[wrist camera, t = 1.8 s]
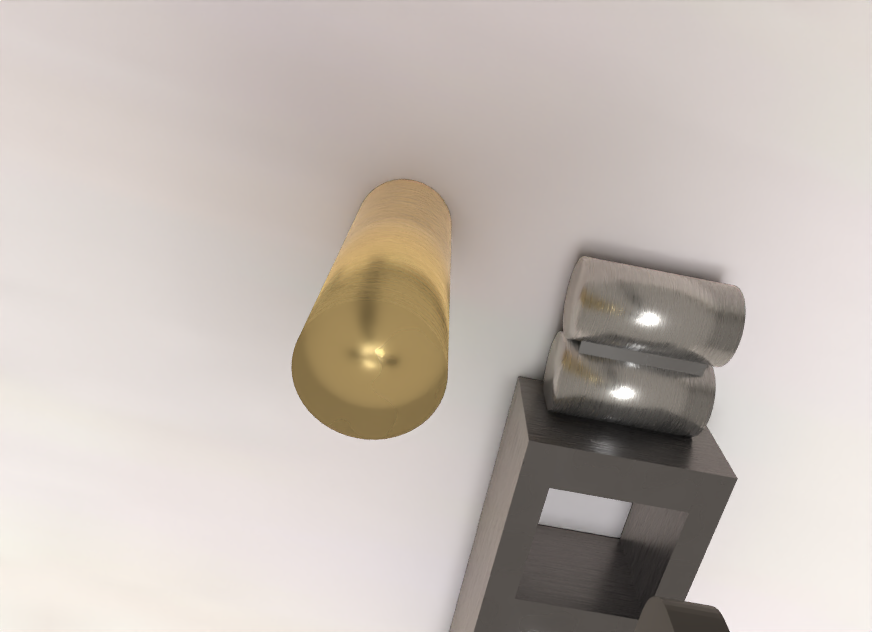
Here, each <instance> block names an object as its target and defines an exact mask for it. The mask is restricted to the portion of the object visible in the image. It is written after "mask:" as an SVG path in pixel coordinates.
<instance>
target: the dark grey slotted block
mask: <svg viewBox="0 0 872 632" xmlns="http://www.w3.org/2000/svg"><path fill="white" fill-rule="evenodd" d="M744 323H745V301H744V297H743V294H742V292H741V290H740V289H739V288H738V287H737V286H734V285H729V284H724V283H719V282H714V281H709V280H704V279H699V278H694V277H688V276H683V275H678V274H673V273H668V272H663V271H658V270H653V269H648V268H642V267H637V266H632V265H627V264H622V263H617V262H612V261H607V260H602V259H597V258H591V257H586V256H582V257H581V258H580V259H579V260H578V262H577V264H576V265H575V268H574V270H573V273H572V275H571V278H570V282H569V285H568V289H567V293H566V298H565V304H564V312H563V331H560V332H558V333H557V335H556V336H555V338H554V340H553V343H552V345H551V348H550V352H549V355H548V359H547V363H546V368H545V375H544V381H539V380H533V379H528V378H523V377H518V380H517V384H516V388H515V391H514V395H513V399H512V402H511V406H510V410H509V414H508V417H507V421H506V425H505V428H504V432H503V436H502V439H501V443H500V447H499V450H498V454H497V458H496V461H495V465H494V469H493V473H492V476H491V480H490V484H489V487H488V491H487V495H486V498H485V502H484V506H483V509H482V513H481V517H480V520H479V524H478V528H477V531H476V535H475V539H474V543H473V546H472V550H471V554H470V557H469V561H468V565H467V568H466V572H465V576H464V579H463V583H462V587H461V590H460V594H459V598H458V602H457V605H456V609H455V613H454V616H453V620H452V624H451V627H450V631H449V632H634V630H635V628H636V625H637V623H638V620H639V618H640V615H641V613H642V610H643V608H644V606H645V604H646V602H647V601H648V600H649V599H650V598H651V597H653V596H657V597H663V598H669V599H674V600H680V601H685V598H686V596H687V594H688V592H689V589H690V587H691V585H692V582H693V580H694V578H695V575H696V573H697V571H698V568H699V566H700V564H701V562H702V559H703V557H704V555H705V552H706V550H707V548H708V545H709V543H710V541H711V539H712V536H713V534H714V532H715V529H716V527H717V525H718V522H719V520H720V518H721V515H722V513H723V511H724V509H725V506H726V504H727V502H728V499H729V497H730V495H731V492H732V490H733V488H734V486H735V483H736V481H737V477H736V475H735V473H734V472H733V470H732V468H731V467H730V465H729V463H728V462H727V460H726V458H725V456H724V455H723V453H722V451H721V450H720V448H719V446H718V445H717V443H716V441H715V439H714V438H713V436H712V434H711V433H710V431H709V429H708V428H707V426H706V424H707V422H708V420H709V418H710V415H711V412H712V409H713V404H714V399H715V374H714V370H713V367H712V366H714V367H722V366H724V365H725V364H726V363H727V362H728V361H729V360H730V359H731V358H732V357H733V355H734V353H735V352H736V350H737V348H738V345H739V343H740V340H741V337H742V333H743V329H744ZM549 488H554V489H559V490H565V491H570V492H576V493H582V494H587V495H593V496H598V497H604V498H610V499H615V500H621V501H626V502H632V503H633V505H632V507H631V510H630V513H629V516H628V518H627V521H626V524H625V526H624V529H623V532H622V534H621V537H620V539H616V538H610V537H605V536H599V535H593V534H588V533H582V532H576V531H571V530H565V529H559V528H554V527H548V526H542V525H538V522H539V519H540V515H541V512H542V509H543V506H544V503H545V499H546V496H547V493H548V490H549Z"/></svg>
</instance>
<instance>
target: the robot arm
mask: <svg viewBox="0 0 872 632" xmlns="http://www.w3.org/2000/svg"><path fill="white" fill-rule="evenodd" d="M634 632H730V631H729V629H728V627H727V624H726V622H725V620H724V618H723V616H722V614H721V613H720V612H719V610H718V609H716V608H715V607H713V606H709V605H703V604H697V603H691V602H686V601H680V600H674V599H669V598H663V597H657V596H653V597H651V598H650V599H649V600H648V601H647V602H646V604H645V606H644V608H643V610H642V613H641V615H640V618H639V620H638V623H637V625H636V628H635V630H634Z"/></svg>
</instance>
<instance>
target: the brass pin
mask: <svg viewBox="0 0 872 632" xmlns="http://www.w3.org/2000/svg"><path fill="white" fill-rule="evenodd" d="M450 266H451V217H450V213H449V210H448V208H447V205H446V204H445V202H444V200H443V199H442V198H441V196H440V195H439V194H438V193H437V192H436V191H434V190H433V189H432V188H430V187H429V186H427V185H425V184H423V183H421V182H418V181H414V180H408V179H399V180H392V181H389V182H386V183H384V184H381V185H380V186H378V187H376V188H375V189H374V190H373V191H371V192H370V193H369V194H368V196H367V197H366V198H365V200H364V201H363V203H362V205H361V207H360V209H359V211H358V213H357V215H356V218H355V220H354V222H353V224H352V226H351V228H350V230H349V232H348V234H347V237H346V239H345V241H344V243H343V245H342V247H341V249H340V251H339V253H338V256H337V258H336V260H335V262H334V264H333V266H332V268H331V270H330V273H329V275H328V277H327V279H326V281H325V283H324V285H323V287H322V289H321V292H320V294H319V296H318V298H317V300H316V302H315V304H314V306H313V309H312V311H311V313H310V315H309V317H308V319H307V321H306V323H305V325H304V328H303V330H302V332H301V334H300V336H299V338H298V340H297V343H296V345H295V348H294V352H293V356H292V377H293V382H294V386H295V388H296V391H297V393H298V395H299V397H300V399H301V401H302V403H303V404H304V405H305V407H306V408H307V409H308V411H309V412H310V413H311V414H312V415H313V416H314V417H315V418H317V419H318V420H319V421H320V422H321V423H323V424H324V425H326V426H327V427H329V428H331V429H333V430H335V431H337V432H339V433H341V434H344V435H347V436H351V437H355V438H360V439H374V440H378V439H387V438H392V437H396V436H399V435H402V434H405V433H407V432H409V431H411V430H413V429H415V428H417V427H418V426H420V425H421V424H422V423H424V422H425V421H426V420H427V419H428V418H429V417H430V416H431V415H432V414H433V413H434V412H435V410H436V409H437V407H438V406H439V404H440V402H441V400H442V398H443V396H444V393H445V389H446V385H447V378H448V341H449V303H450Z"/></svg>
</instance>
